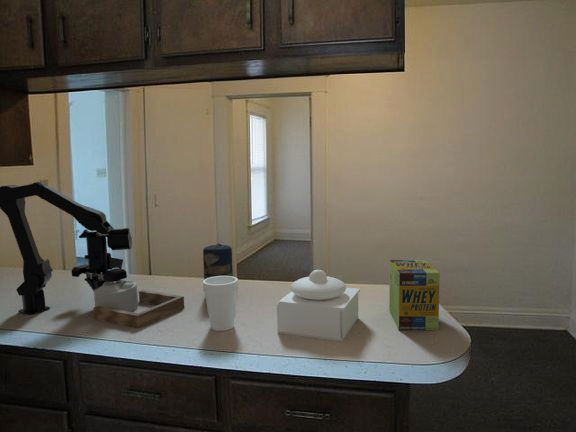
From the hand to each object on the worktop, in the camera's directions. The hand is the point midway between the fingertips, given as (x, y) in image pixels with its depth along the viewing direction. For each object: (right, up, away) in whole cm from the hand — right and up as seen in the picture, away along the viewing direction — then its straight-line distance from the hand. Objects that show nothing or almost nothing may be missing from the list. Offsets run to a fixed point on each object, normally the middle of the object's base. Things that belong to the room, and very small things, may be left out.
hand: (100, 299), depth 144 cm
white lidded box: (+68, -4, -21) cm, 72 cm away
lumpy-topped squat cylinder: (+7, -3, -3) cm, 8 cm away
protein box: (+94, -3, -19) cm, 96 cm away
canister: (+37, -1, +7) cm, 37 cm away
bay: (+15, -3, -7) cm, 17 cm away
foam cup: (+42, -4, -20) cm, 46 cm away
